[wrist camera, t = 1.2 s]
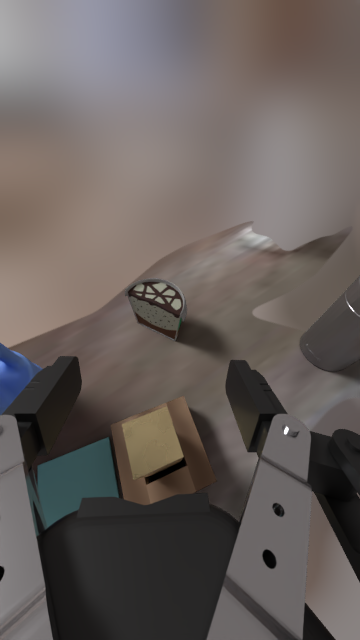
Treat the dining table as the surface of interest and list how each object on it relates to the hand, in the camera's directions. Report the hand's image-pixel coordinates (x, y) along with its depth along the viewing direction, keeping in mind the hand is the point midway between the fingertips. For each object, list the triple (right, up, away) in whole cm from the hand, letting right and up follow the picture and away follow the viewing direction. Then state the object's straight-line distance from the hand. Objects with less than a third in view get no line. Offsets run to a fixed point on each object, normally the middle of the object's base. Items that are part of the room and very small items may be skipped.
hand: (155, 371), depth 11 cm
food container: (-2, +2, +35) cm, 35 cm away
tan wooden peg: (-1, -17, +20) cm, 27 cm away
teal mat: (-13, -21, +18) cm, 30 cm away
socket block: (-1, -17, +20) cm, 27 cm away
